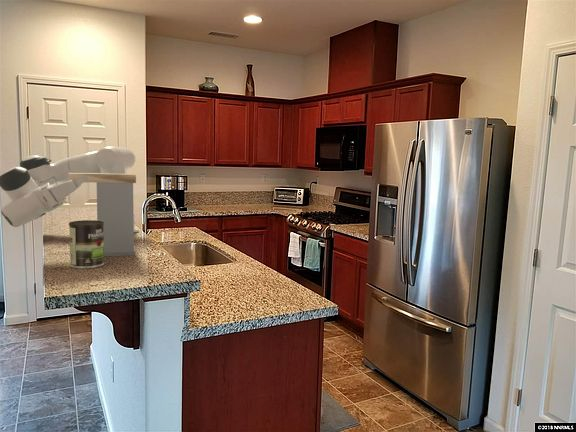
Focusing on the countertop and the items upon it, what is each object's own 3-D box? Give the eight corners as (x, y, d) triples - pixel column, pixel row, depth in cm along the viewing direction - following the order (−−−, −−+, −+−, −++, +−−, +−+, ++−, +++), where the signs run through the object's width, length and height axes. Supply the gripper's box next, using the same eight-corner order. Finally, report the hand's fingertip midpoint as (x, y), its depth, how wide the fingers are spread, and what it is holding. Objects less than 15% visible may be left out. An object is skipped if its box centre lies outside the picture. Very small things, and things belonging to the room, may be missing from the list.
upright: (98, 251, 166) (96, 181, 162) (134, 249, 170) (134, 181, 167) (96, 256, 158) (94, 183, 154) (135, 255, 162) (134, 183, 158)
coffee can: (111, 263, 149) (110, 221, 147) (87, 270, 140) (86, 225, 138) (87, 259, 153) (86, 219, 151) (62, 266, 143) (61, 222, 141)
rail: (69, 181, 157) (69, 172, 157) (135, 182, 164) (135, 174, 164) (68, 182, 154) (68, 173, 153) (136, 183, 161) (135, 174, 161)
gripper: (60, 200, 165) (95, 182, 168) (52, 207, 146) (91, 186, 149) (50, 185, 163) (86, 167, 166) (40, 190, 144) (81, 169, 147)
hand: (88, 176), depth 157 cm, fingers open, 7 cm apart
